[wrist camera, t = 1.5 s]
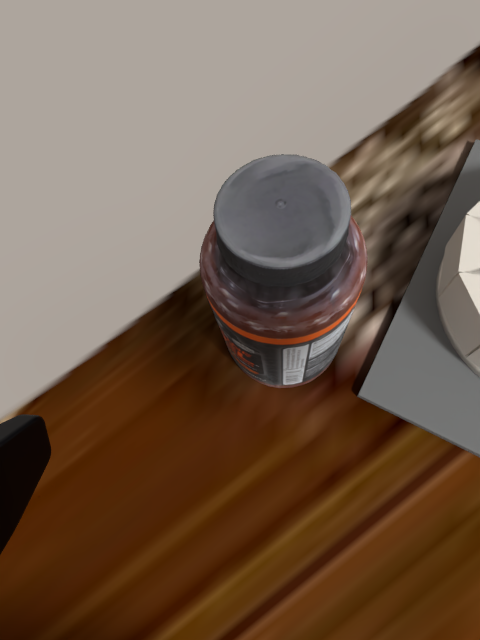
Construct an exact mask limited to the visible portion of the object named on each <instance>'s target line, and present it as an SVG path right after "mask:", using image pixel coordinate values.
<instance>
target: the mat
mask: <svg viewBox="0 0 480 640" xmlns="http://www.w3.org/2000/svg"><path fill="white" fill-rule="evenodd" d="M479 201H480V140H476V141H475V142H474V144H473V146H472V149H471V151H470V153H469V155H468V157H467V159H466V162H465V164H464V166H463V168H462V170H461V172H460V175H459V177H458V179H457V181H456V183H455V185H454V188H453V190H452V192H451V194H450V196H449V199H448V201H447V203H446V205H445V207H444V209H443V212H442V214H441V216H440V218H439V220H438V222H437V225H436V227H435V229H434V231H433V233H432V235H431V238H430V240H429V242H428V244H427V246H426V248H425V251H424V253H423V255H422V257H421V259H420V261H419V264H418V266H417V268H416V270H415V272H414V274H413V277H412V279H411V281H410V283H409V285H408V287H407V290H406V292H405V294H404V296H403V298H402V300H401V303H400V305H399V307H398V309H397V311H396V313H395V316H394V318H393V320H392V322H391V324H390V326H389V329H388V331H387V333H386V335H385V337H384V339H383V342H382V344H381V346H380V348H379V350H378V352H377V355H376V357H375V359H374V361H373V363H372V365H371V368H370V370H369V372H368V374H367V376H366V378H365V381H364V383H363V385H362V387H361V389H360V391H359V394H358V396H357V397H359V398H361V399H363V400H365V401H367V402H370V403H372V404H374V405H376V406H378V407H380V408H382V409H384V410H386V411H388V412H390V413H392V414H394V415H396V416H398V417H400V418H402V419H404V420H406V421H408V422H410V423H412V424H414V425H416V426H418V427H420V428H422V429H424V430H426V431H428V432H430V433H432V434H434V435H436V436H438V437H440V438H442V439H444V440H446V441H448V442H450V443H452V444H454V445H456V446H458V447H460V448H462V449H464V450H466V451H468V452H470V453H472V454H474V455H476V456H478V457H480V378H479V377H478V376H477V375H476V374H475V373H474V372H473V371H472V370H471V369H470V368H469V367H468V366H467V364H466V363H465V362H464V361H463V360H462V359H461V357H460V356H459V354H458V353H457V352H456V350H455V349H454V347H453V346H452V344H451V342H450V340H449V339H448V337H447V335H446V333H445V331H444V328H443V325H442V323H441V320H440V317H439V313H438V308H437V303H436V279H437V274H438V270H439V266H440V264H441V261H442V259H443V257H444V253H445V246H446V244H447V243H448V241H449V240H450V238H451V237H452V235H453V234H454V232H455V231H456V229H457V228H458V226H459V225H460V223H461V222H462V220H463V219H464V217H465V216H466V214H467V213H468V212H469V211H470V210H471V209H472V208H473V207H474V206H475V205H476V204H477V203H478V202H479Z"/></svg>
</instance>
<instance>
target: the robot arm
mask: <svg viewBox="0 0 480 640" xmlns="http://www.w3.org/2000/svg"><path fill="white" fill-rule="evenodd" d="M50 456H51V446H50V442H49V438H48V434H47V430H46V426H45V422H44V420H43V418H42V417H40V416H37V415H19V416H16V417H14V418H12V419H10V420H8V421H5V422H3V423H1V424H0V554H1V553H2V551H3V549H4V548H5V546H6V544H7V543H8V541H9V539H10V537H11V536H12V534H13V532H14V530H15V528H16V527H17V525H18V523H19V521H20V519H21V517H22V515H23V513H24V511H25V509H26V507H27V505H28V503H29V501H30V499H31V497H32V494H33V492H34V490H35V488H36V486H37V484H38V482H39V480H40V478H41V476H42V474H43V472H44V470H45V468H46V466H47V464H48V462H49V459H50Z"/></svg>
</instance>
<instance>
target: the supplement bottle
mask: <svg viewBox="0 0 480 640" xmlns="http://www.w3.org/2000/svg"><path fill="white" fill-rule="evenodd" d="M199 263H200V275H201V279H202V283H203V287H204V290H205V293H206V295H207V298H208V302H209V304H210V306H211V309H212V311H213V312H214V316H215V318H216V321H217V323H218V325H219V327H220V329H221V332H222V335H223V337H224V340H225V342H226V345H227V347H228V349H229V352H230V354H231V357H232V358H233V359H234V361H235V362H236V363H237V365H238V366H239V367H240V368H241V369H242V371H243V372H244V373H246V374H247V375H248V376H249V377H251V378H252V379H254V380H256V381H257V382H259V383H262V384H265V385H267V386H271V387H277V388H288V387H296V386H299V385H303V384H306V383H308V382H310V381H312V380H314V379H315V378H317V377H318V376H319V375H320V374H322V373H323V372H324V371H325V370H326V369H327V368H328V366H329V365H330V363H331V362H332V360H333V358H334V357H335V355H336V353H337V350H338V348H339V345H340V343H341V340H342V338H343V335H344V333H345V330H346V328H347V325H348V323H349V321H350V318H351V315H352V313H353V310H354V308H355V305H356V303H357V300H358V298H359V295H360V292H361V290H362V287H363V284H364V281H365V276H366V271H367V250H366V244H365V240H364V237H363V235H362V233H361V230H360V228H359V226H358V225H357V223H356V221H355V220H354V219H353V217H352V216H351V200H350V197H349V194H348V190H347V189H346V187H345V185H344V183H343V182H342V180H341V179H340V177H339V176H338V175H337V174H336V173H335V172H334V171H332V170H330V169H329V168H328V167H327V166H326V165H324V164H322V163H320V162H319V161H317V160H314V159H310V158H307V157H304V156H299V155H284V154H282V155H272V156H267V157H264V158H259V159H256V160H253V161H251V162H250V163H248V164H246V165H244V166H243V167H241V168H240V169H238V170H236V171H235V173H233V174H232V175H231V176H230V177H229V178H228V179H227V180H226V181H225V183H224V184H223V185H222V187H221V189H220V191H219V192H218V194H217V198H216V200H215V204H214V221H213V222H212V224H211V225H210V227H209V230H208V231H207V234H206V235H205V238H204V241H203V244H202V248H201V253H200V262H199Z"/></svg>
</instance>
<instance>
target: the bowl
mask: <svg viewBox="0 0 480 640" xmlns="http://www.w3.org/2000/svg"><path fill="white" fill-rule="evenodd" d="M436 303H437V308H438V313H439V317H440V320H441V323H442V325H443V328H444V331H445V333H446V335H447V337H448V339H449V340H450V342H451V344H452V346H453V347H454V349H455V350H456V352H457V353H458V354H459V356H460V357H461V359H462V360H463V361H464V362H465V363H466V364H467V366H468V367H469V368H470V369H471V370H472V371H473V372H474V373H475V374H476V375H477V376H478V377H479V378H480V201H479V202H478V203H477V204H476V205H475V206H474V207H473V208H472V209H471V210H470V211H469V212H468V213H467V214H466V216H465V217H464V219H463V220H462V222H461V223H460V225H459V226H458V228H457V229H456V231H455V232H454V234H453V235H452V237H451V238H450V240H449V241H448V243H447V244H446V246H445V253H444V257H443V259H442V261H441V264H440V266H439V270H438V274H437V279H436Z"/></svg>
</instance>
